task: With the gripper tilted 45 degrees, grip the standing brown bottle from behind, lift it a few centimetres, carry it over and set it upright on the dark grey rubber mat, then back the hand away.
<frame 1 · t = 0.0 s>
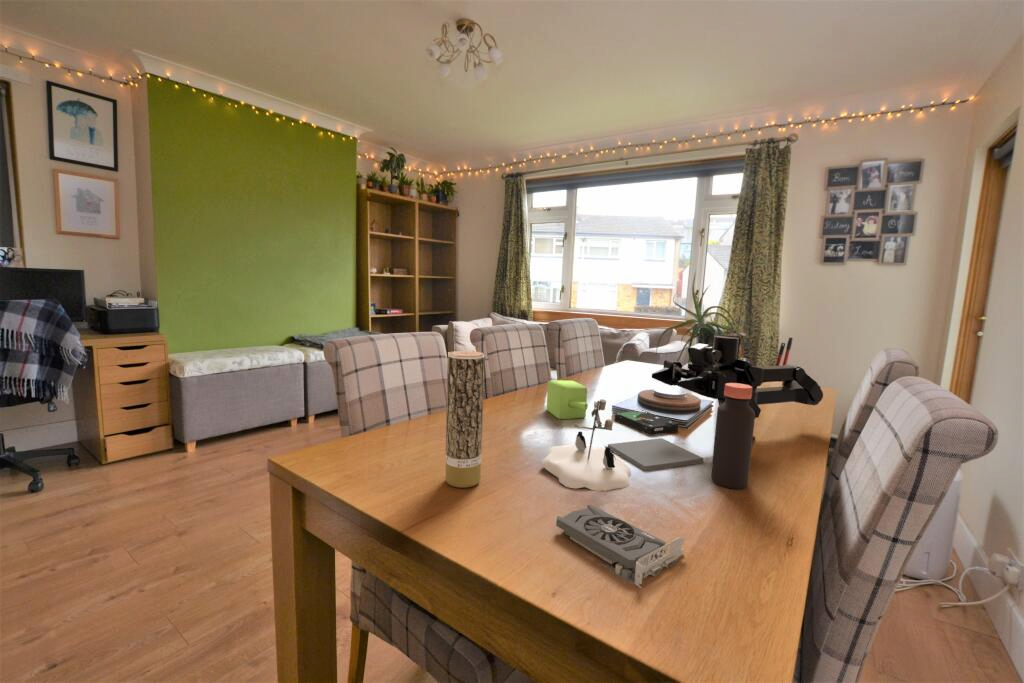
hand: (664, 379, 112), 17 cm above the table, fingers open, 9 cm apart
disk drive: (645, 427, 131), on the table
brown bottle: (728, 483, 94), on the table
gearbox: (569, 415, 139), on the table
paper tube: (462, 482, 90), on the table
graphics card: (616, 548, 70), on the table
figurine: (585, 472, 98), on the table
mat: (653, 455, 108), on the table
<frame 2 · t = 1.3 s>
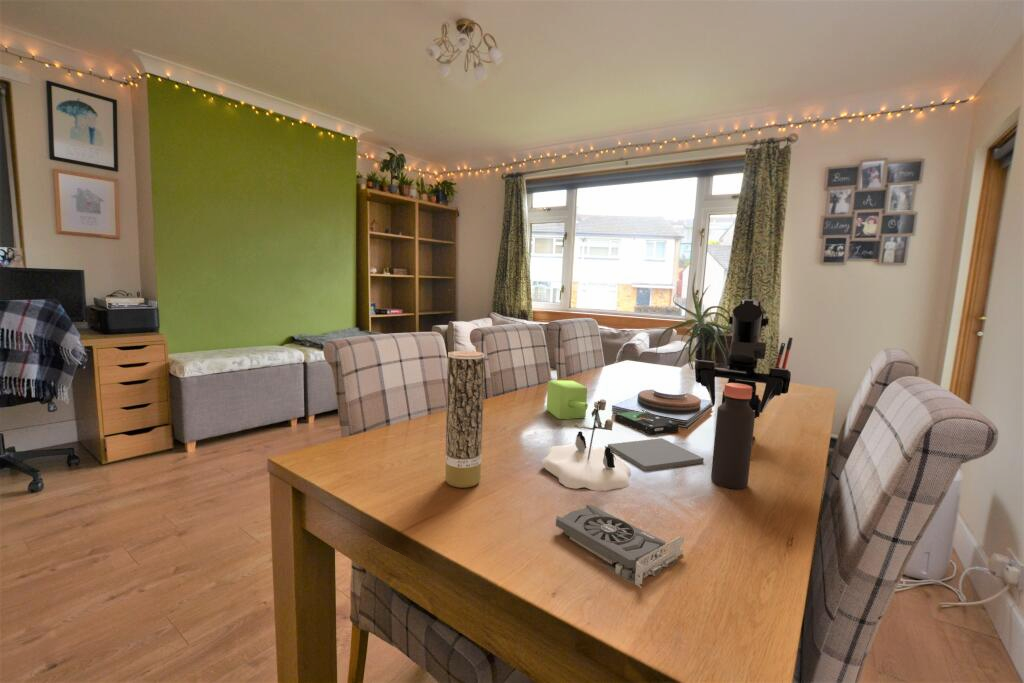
hand: (736, 408, 99), 14 cm above the table, fingers open, 9 cm apart
nothing on the table moved.
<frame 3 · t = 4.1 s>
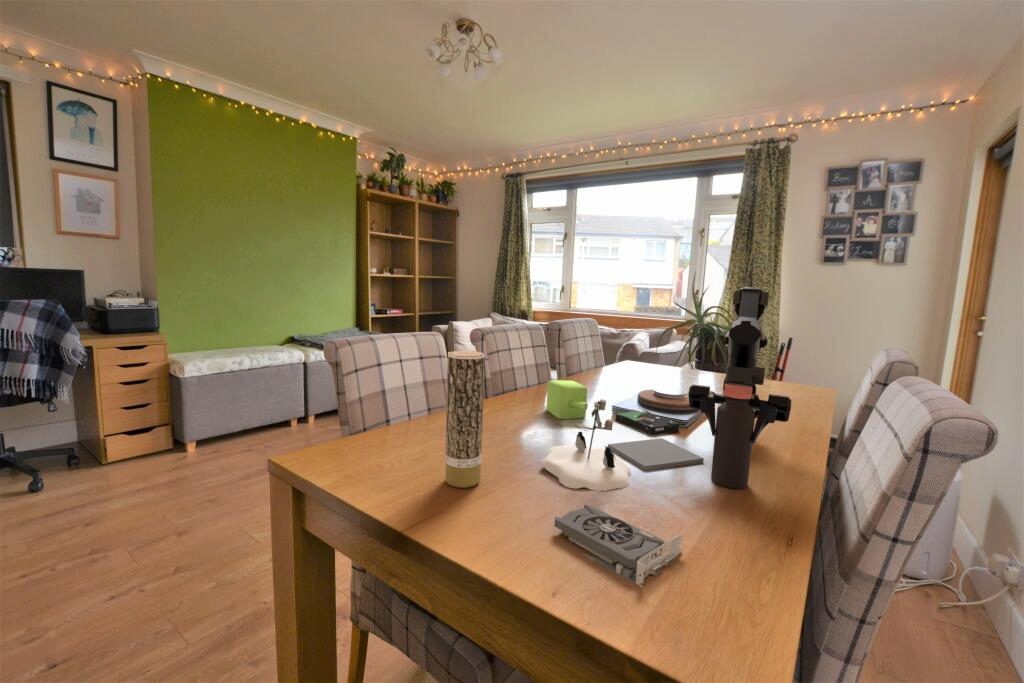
hand: (733, 438, 92), 10 cm above the table, fingers closed on brown bottle, 7 cm apart
brown bottle: (728, 483, 94), on the table, touching gripper
everything else where it was.
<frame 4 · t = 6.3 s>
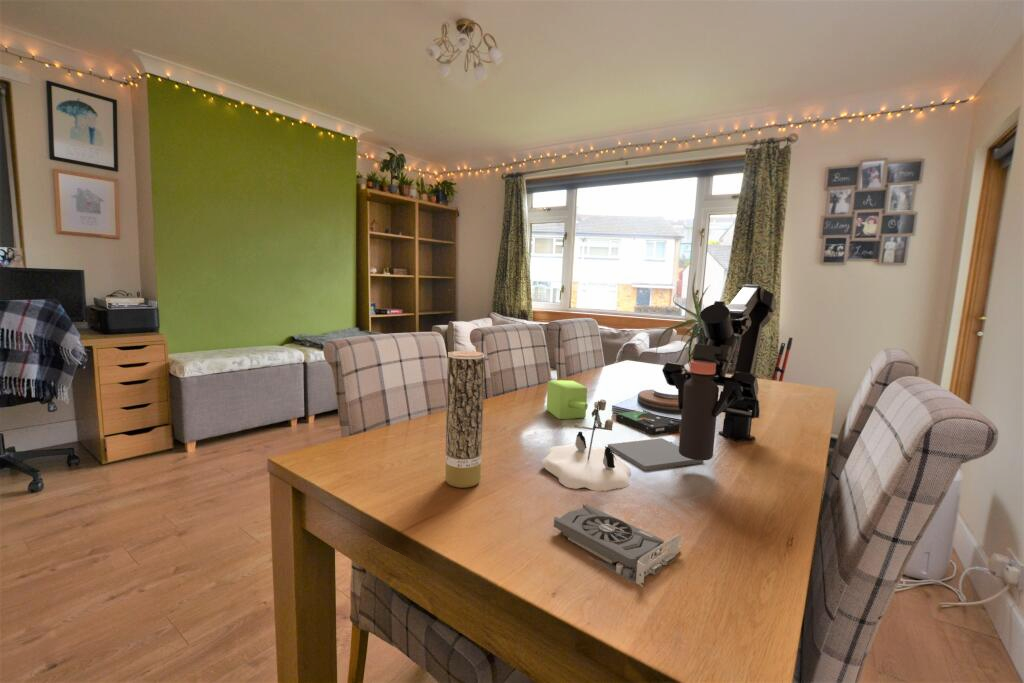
hand: (696, 412, 96), 13 cm above the table, fingers closed on brown bottle, 7 cm apart
brown bottle: (695, 455, 99), point 3 cm above the table, touching gripper
everything else where it was.
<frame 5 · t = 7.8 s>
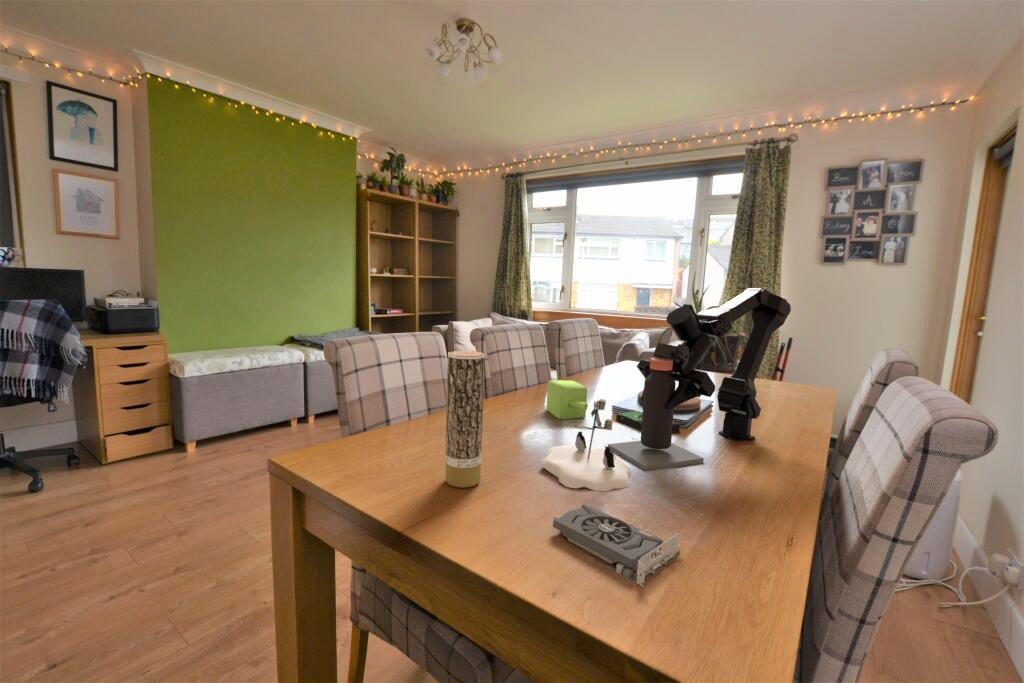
hand: (654, 404, 106), 12 cm above the table, fingers closed on brown bottle, 7 cm apart
brown bottle: (655, 445, 108), point 2 cm above the table, touching gripper
everything else where it was.
when the fingers open (11 cm above the table, at t = 8.8 s): brown bottle stays where it is, resting on mat.
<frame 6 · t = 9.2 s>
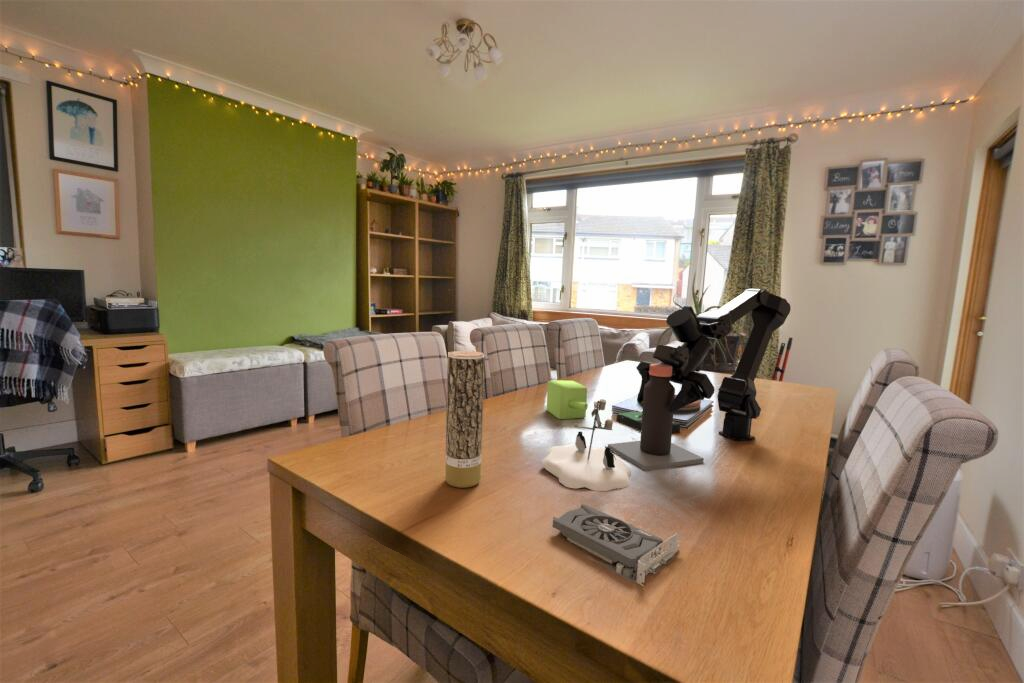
hand: (653, 406, 106), 12 cm above the table, fingers open, 9 cm apart
brown bottle: (654, 451, 108), point 1 cm above the table, touching mat
everything else where it was.
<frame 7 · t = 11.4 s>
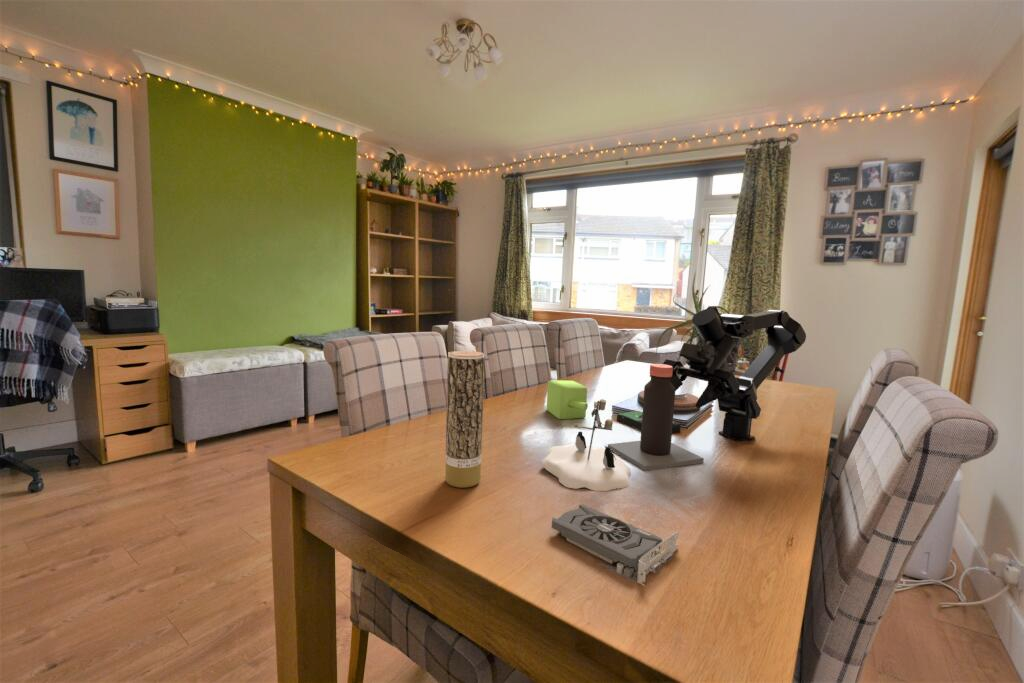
hand: (680, 402, 110), 12 cm above the table, fingers open, 9 cm apart
nothing on the table moved.
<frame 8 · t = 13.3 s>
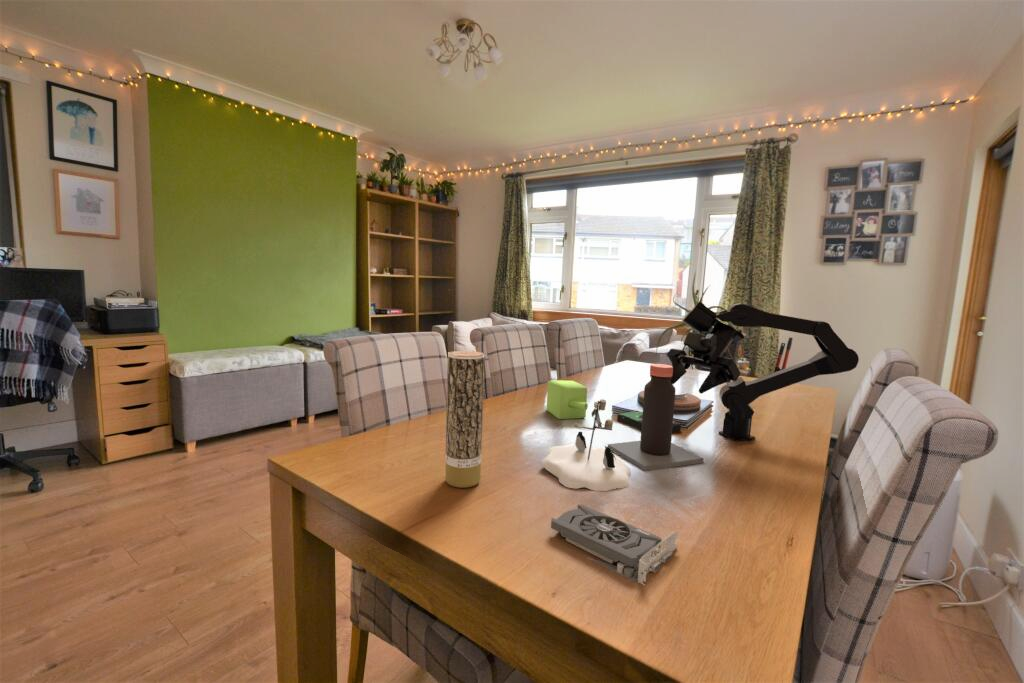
hand: (684, 388, 117), 14 cm above the table, fingers open, 9 cm apart
nothing on the table moved.
at the end: brown bottle inside the target area on the mat (0.2 cm from its centre), point 0.8 cm above the mat's base; brown bottle tilted 0°; the gripper is holding nothing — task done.
